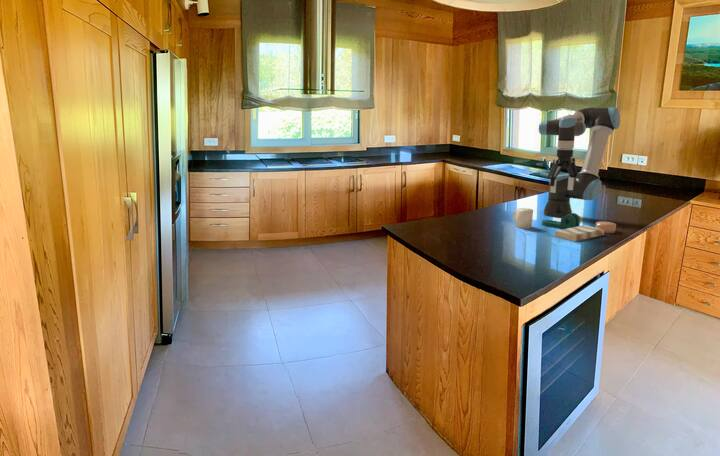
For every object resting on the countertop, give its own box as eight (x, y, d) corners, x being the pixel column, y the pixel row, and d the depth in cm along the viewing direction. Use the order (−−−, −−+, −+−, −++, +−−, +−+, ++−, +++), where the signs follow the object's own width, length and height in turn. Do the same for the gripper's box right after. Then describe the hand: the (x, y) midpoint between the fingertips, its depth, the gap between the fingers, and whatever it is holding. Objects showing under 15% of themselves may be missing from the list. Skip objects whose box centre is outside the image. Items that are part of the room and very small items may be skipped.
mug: (518, 223, 267) (519, 206, 265) (534, 227, 258) (536, 210, 256) (508, 225, 263) (509, 208, 261) (524, 229, 254) (525, 211, 252)
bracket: (579, 229, 254) (580, 214, 253) (572, 231, 250) (574, 215, 248) (545, 223, 267) (547, 209, 266) (539, 225, 263) (540, 210, 261)
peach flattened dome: (602, 228, 256) (603, 220, 255) (618, 232, 248) (619, 224, 247) (591, 230, 251) (592, 222, 250) (608, 234, 244) (609, 226, 243)
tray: (583, 230, 251) (584, 224, 250) (603, 234, 242) (604, 229, 241) (554, 236, 240) (555, 230, 239) (574, 241, 231) (575, 235, 230)
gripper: (574, 147, 259) (570, 188, 264) (542, 149, 246) (538, 192, 251) (587, 148, 252) (583, 190, 257) (555, 150, 240) (551, 194, 245)
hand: (561, 191), depth 254 cm, fingers open, 13 cm apart
